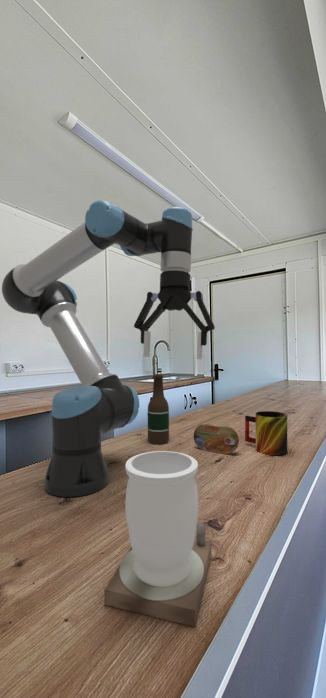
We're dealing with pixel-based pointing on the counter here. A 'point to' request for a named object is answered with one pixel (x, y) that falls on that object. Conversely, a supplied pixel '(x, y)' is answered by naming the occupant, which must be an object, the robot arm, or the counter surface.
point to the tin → (216, 438)
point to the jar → (162, 515)
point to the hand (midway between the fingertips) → (172, 358)
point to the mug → (268, 432)
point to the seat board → (162, 601)
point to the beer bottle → (158, 414)
